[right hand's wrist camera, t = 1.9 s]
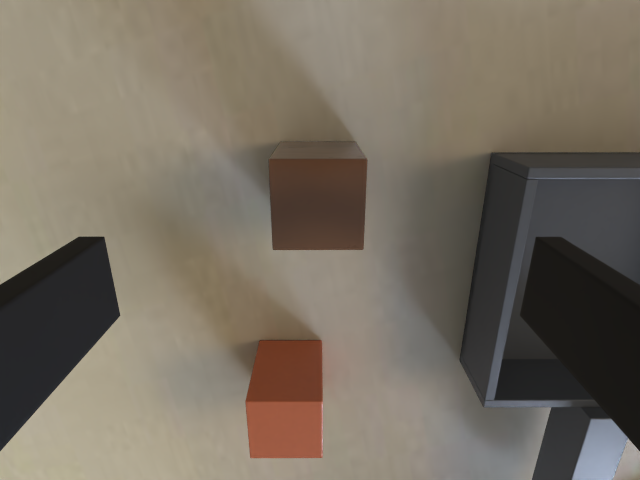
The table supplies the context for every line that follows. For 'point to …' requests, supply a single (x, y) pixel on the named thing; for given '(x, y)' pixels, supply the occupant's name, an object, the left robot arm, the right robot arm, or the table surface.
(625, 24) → the table surface
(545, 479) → the tote
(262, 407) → the terracotta block
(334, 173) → the walnut block
